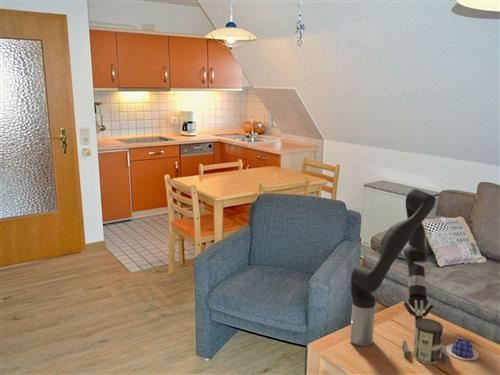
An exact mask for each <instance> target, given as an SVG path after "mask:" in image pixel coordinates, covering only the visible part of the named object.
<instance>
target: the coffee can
mask: <svg viewBox="0 0 500 375" xmlns="http://www.w3.org/2000/svg"><path fill="white" fill-rule="evenodd" d="M443 330H444V326H443V324H442V323H441V322H439V321H437V320H434V319H431V318H425V317H422V319H418V320H416V321H415V320H414V336H413V350H412V351H413V352H412V356H413V357H414V359H415V360H417V361H418V362H420V363H423V364H429V365H433V364H434V365H435V364H437V363H439V362H440V358H441V355H440V349H441V345H442V339H443Z"/></svg>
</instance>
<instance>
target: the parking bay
mask: <svg viewBox="0 0 500 375" xmlns="http://www.w3.org/2000/svg"><path fill="white" fill-rule="evenodd" d="M401 348H402V353H403V352H404V353H403V357H404V359H409V358H410V350H409V346H408V341H407V340H402V347H401ZM440 358H441V360H442V363H443V364H448V361H449V355H448V351H447V349H446V347H445V345H444V344H441V349H440Z"/></svg>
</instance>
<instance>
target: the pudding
mask: <svg viewBox="0 0 500 375" xmlns="http://www.w3.org/2000/svg"><path fill="white" fill-rule="evenodd" d="M445 349H446V352H447V353H448V354H449V355H451V356H453V357H455V358H456V359H460V360H463V361H464V360H465V361H475V360H476V359H478V358H479V357H480V354H479V352H478V351H477V350H476V349H475V348H474V347H473V346H472V342H471V341H470V340H467V339H466V338H461V337H459V338H456V339H455V340H454V343H450V344H448V345H447V346H446V347H445Z"/></svg>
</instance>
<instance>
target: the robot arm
mask: <svg viewBox="0 0 500 375" xmlns="http://www.w3.org/2000/svg"><path fill="white" fill-rule="evenodd" d="M436 202H437V200H436V197H435V196H434V195H433V194H430V193H429V192H428V193H427V192H425V191H423V190H419V189H416V188H413V189H411V190H410V191H408V193H407V195H406V198H405V210H406V218H407V219H404V220H401V221H399V222H397V223H395V224H393V225H392V226H390V227H389V228H388V229H387V231H386V233H385V234H384V235H383V237H382V238H381V242H380V249H379V250H380V252H379V254H380V255H379V259H378V261H377V262H376V264H375V266H374V267H373V268H372V267H369V266H367V265H364V264H358V265H356V266H355V267H354V269H353V270H352V272H351V277H350V294H351V295H350V296H351V299H352V302H351V303H352V304H351V307H352V308H351V309H352V310H351V318H350V319H351V320H350V333H349V334H350V336H349V337H350V340H349V341H350V344H354V345H356V346H359V347H369V346H371V345H372V344H373V343H374V342H373V341H374V328H375V327H374V324H375V312H376V298H375V296H374V295H373V294H372V293H373V292H375V291H376V290H378V289H379V287H380V286H381V285H382V283H383V281H384V280H385V278H386V276H387V274H388V272H389V271H390V269H391V267H392V266H393V263H395V261H396V260H397V258H398V256H399V255H400V254H401V252H402V251H403V249H404V251H403V255H404V256H403V257H404V259H405V262H406V264H407V269H408V299H407V301H405V302H404V303H403V305H402V306H403V308H405V309H406V310H407V312H408V313H409V315H410V316H412V317H414V322H415V321H416V320H418V319H422V318H425V317H427V316H428V314H429V313H430V312H431V311H432V310H433V308H434V304H431V303H430V302H429V300H428V297H427V295H428V294H427V283H426V282H427V281H426V276H425V275H426V274H425V273H426V272H425V267H424V266H423V265H420V264H418V263H425V262H426V261H427V260H428V257H429V254H428V251H427V248H426V244H425V243H426V241H425V239H426V231H425V227H424V224H423V221H425V219H426V218H427V217H428V215H429V214H430V213H431V212H432V211H433V208H434V207H435V205H436ZM407 243H408V246H407V247H406V248H405V246H406V245H407ZM425 308H427V309H426V310H425V311H424V309H425Z"/></svg>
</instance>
